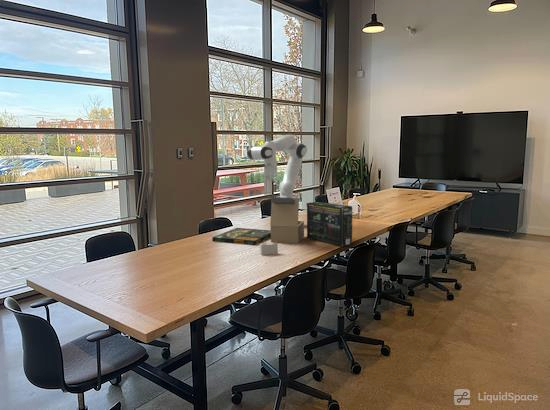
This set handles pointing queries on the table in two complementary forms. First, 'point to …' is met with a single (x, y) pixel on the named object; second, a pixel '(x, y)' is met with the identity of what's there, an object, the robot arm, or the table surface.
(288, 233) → the carton
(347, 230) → the router box
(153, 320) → the table surface
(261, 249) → the model
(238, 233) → the pizza box
